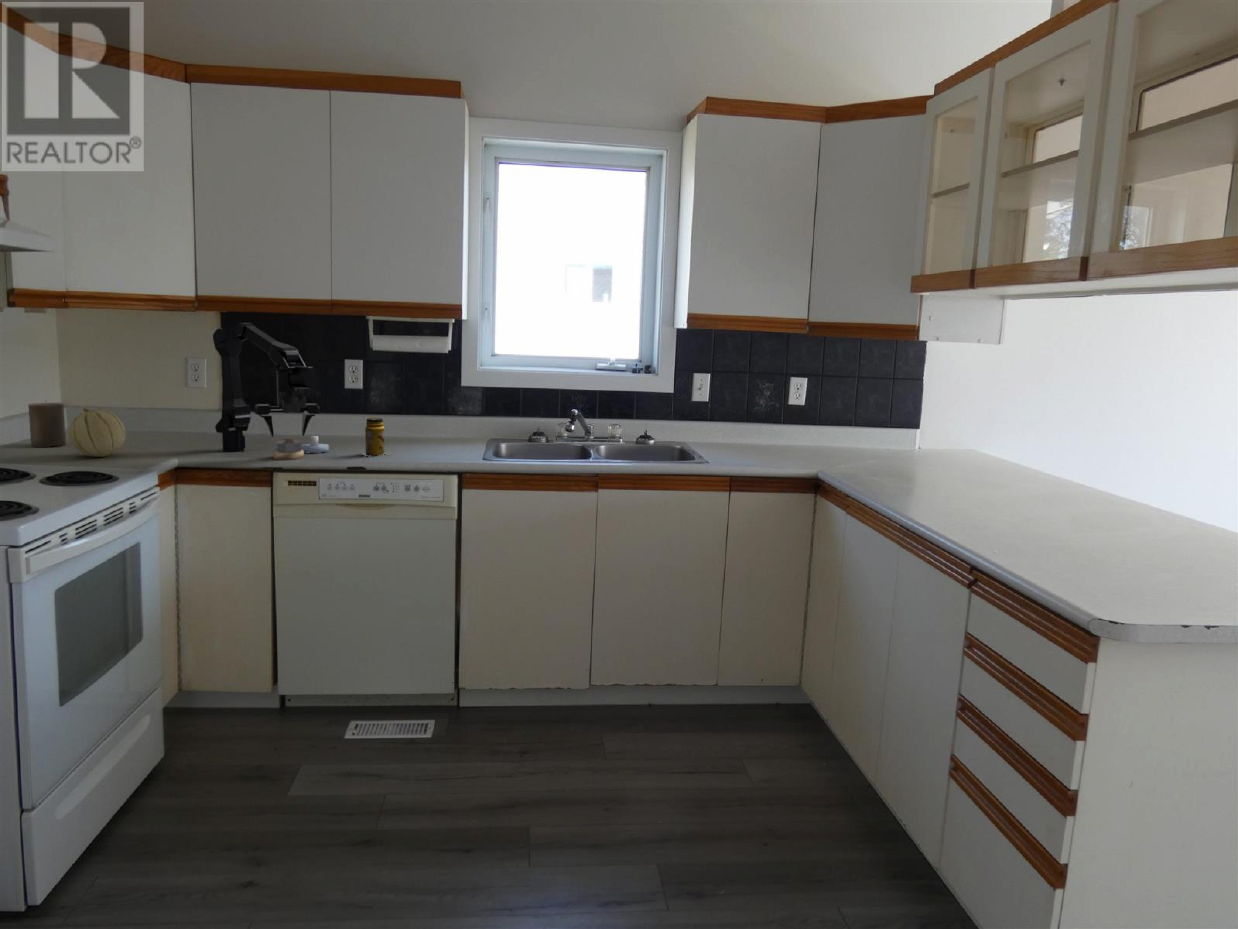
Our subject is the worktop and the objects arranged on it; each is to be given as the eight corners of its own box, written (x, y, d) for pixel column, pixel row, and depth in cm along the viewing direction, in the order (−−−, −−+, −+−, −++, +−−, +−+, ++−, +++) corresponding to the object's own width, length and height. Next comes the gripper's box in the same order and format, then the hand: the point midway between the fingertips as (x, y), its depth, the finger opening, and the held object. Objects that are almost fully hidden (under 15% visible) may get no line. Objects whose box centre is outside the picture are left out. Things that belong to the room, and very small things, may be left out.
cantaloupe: (133, 457, 270) (130, 409, 267) (78, 462, 260) (75, 411, 257) (117, 451, 280) (115, 404, 278) (64, 455, 270) (61, 406, 267)
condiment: (389, 455, 292) (389, 419, 290) (366, 457, 286) (365, 420, 284) (378, 452, 297) (378, 416, 295) (355, 454, 291) (354, 418, 289)
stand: (276, 460, 274) (275, 441, 273) (271, 456, 282) (270, 437, 281) (306, 458, 278) (306, 440, 277) (300, 454, 286) (300, 436, 285)
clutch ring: (279, 453, 275) (278, 443, 274) (275, 450, 281) (274, 440, 280) (302, 452, 278) (302, 442, 278) (298, 449, 284) (297, 439, 284)
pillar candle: (64, 447, 285) (61, 400, 283) (28, 448, 281) (25, 401, 279) (67, 443, 294) (65, 398, 291) (33, 444, 289) (30, 398, 287)
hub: (303, 454, 287) (303, 438, 287) (297, 450, 295) (297, 435, 294) (331, 452, 292) (331, 437, 291) (325, 448, 300) (325, 434, 299)
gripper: (259, 389, 265) (260, 440, 267) (323, 388, 274) (324, 438, 277) (253, 386, 274) (254, 436, 277) (315, 385, 284) (316, 434, 286)
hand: (288, 436), depth 279 cm, fingers open, 9 cm apart
